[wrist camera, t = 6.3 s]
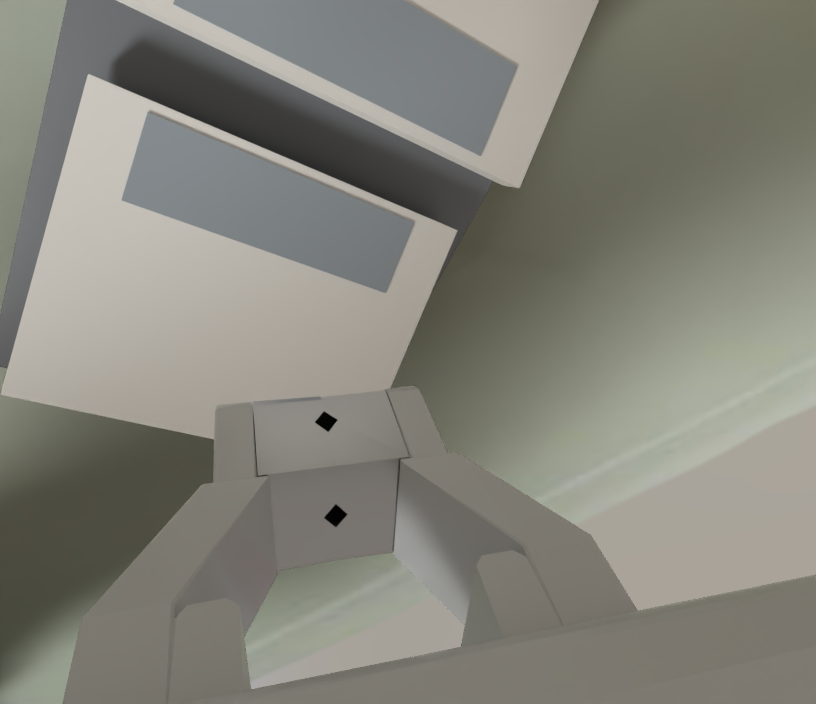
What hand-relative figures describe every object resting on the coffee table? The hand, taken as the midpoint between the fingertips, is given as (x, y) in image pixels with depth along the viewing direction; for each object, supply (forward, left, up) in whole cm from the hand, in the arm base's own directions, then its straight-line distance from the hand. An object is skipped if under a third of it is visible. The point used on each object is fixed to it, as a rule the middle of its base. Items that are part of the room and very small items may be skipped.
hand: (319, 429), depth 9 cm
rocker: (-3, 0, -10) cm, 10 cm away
